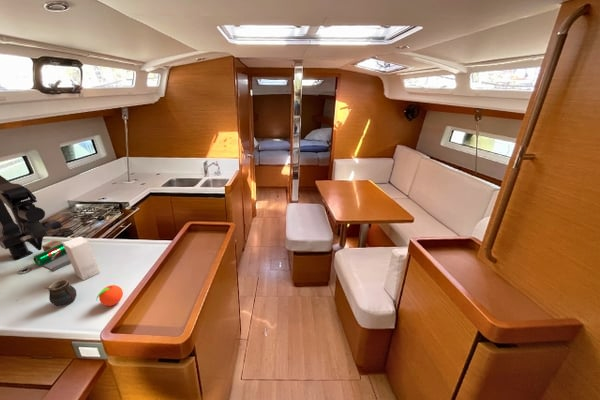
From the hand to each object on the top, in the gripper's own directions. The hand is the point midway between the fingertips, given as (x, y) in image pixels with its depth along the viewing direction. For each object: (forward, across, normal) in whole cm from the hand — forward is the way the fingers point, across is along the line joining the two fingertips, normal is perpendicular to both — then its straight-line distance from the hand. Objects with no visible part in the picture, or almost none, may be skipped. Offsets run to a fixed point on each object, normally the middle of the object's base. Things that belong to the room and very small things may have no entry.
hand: (39, 249), depth 113 cm
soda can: (+6, -2, +3) cm, 6 cm away
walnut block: (+9, +8, +10) cm, 15 cm away
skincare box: (+9, +4, -22) cm, 24 cm away
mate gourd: (+9, -8, -33) cm, 35 cm away
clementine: (+9, -2, -49) cm, 50 cm away
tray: (+8, +6, 0) cm, 10 cm away
